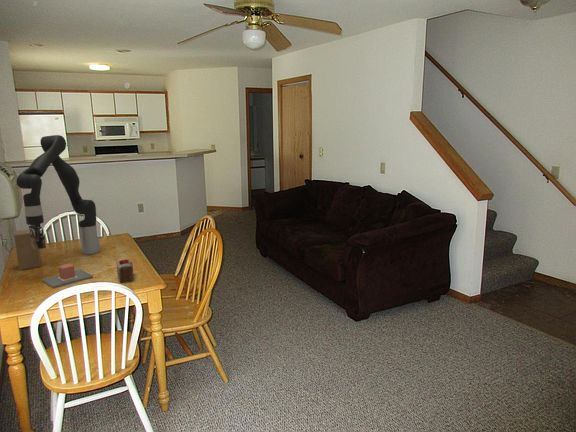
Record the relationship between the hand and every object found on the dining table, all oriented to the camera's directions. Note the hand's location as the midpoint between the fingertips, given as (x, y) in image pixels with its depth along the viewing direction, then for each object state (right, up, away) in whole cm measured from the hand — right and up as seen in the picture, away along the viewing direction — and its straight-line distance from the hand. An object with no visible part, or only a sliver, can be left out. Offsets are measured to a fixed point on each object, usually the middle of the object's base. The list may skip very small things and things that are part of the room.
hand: (38, 246), depth 209 cm
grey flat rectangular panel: (+14, -17, +1) cm, 22 cm away
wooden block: (-17, -13, +21) cm, 30 cm away
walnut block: (0, -1, 0) cm, 1 cm away
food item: (+44, -16, +2) cm, 47 cm away
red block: (+14, -16, +1) cm, 21 cm away
